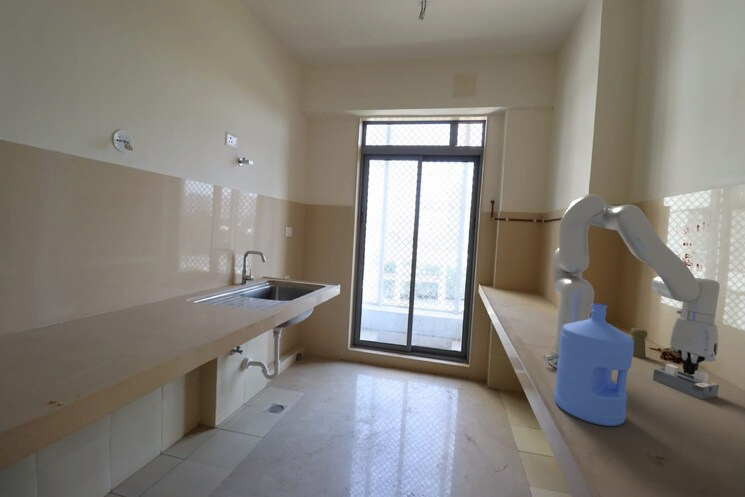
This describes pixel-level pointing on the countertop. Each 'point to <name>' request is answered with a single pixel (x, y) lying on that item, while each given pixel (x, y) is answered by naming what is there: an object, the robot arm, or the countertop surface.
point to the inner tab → (671, 370)
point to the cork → (639, 342)
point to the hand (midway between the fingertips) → (689, 373)
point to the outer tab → (701, 376)
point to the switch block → (686, 384)
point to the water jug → (593, 369)
